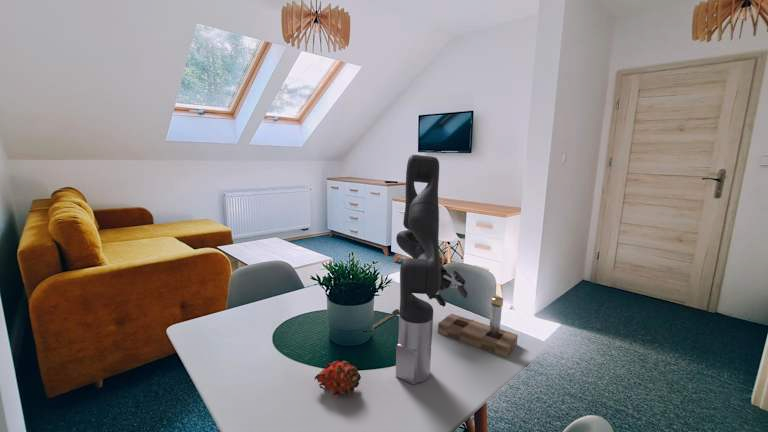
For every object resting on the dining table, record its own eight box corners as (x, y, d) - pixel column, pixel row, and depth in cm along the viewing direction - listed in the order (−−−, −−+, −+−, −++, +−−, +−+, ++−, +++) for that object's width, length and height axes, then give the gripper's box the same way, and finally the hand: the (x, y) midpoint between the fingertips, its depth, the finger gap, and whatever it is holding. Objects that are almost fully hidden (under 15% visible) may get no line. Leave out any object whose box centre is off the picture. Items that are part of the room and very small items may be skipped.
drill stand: (506, 357, 108) (507, 347, 107) (437, 332, 122) (438, 323, 122) (516, 344, 116) (517, 334, 115) (450, 322, 130) (451, 313, 129)
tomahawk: (375, 339, 118) (375, 336, 118) (360, 331, 122) (361, 328, 122) (409, 317, 135) (410, 314, 135) (395, 310, 139) (396, 308, 138)
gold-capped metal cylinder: (496, 348, 113) (500, 301, 110) (485, 344, 115) (489, 298, 112) (500, 344, 116) (504, 298, 113) (489, 340, 118) (493, 295, 115)
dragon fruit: (363, 399, 90) (318, 402, 91) (364, 366, 96) (321, 369, 97) (357, 388, 84) (308, 391, 85) (358, 353, 90) (313, 356, 91)
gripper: (414, 266, 123) (438, 301, 112) (448, 254, 128) (475, 286, 117) (412, 279, 128) (435, 314, 117) (445, 268, 133) (471, 300, 122)
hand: (455, 300), depth 117 cm, fingers open, 8 cm apart
